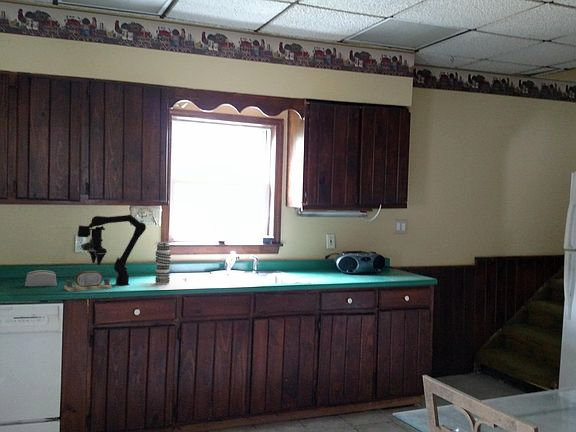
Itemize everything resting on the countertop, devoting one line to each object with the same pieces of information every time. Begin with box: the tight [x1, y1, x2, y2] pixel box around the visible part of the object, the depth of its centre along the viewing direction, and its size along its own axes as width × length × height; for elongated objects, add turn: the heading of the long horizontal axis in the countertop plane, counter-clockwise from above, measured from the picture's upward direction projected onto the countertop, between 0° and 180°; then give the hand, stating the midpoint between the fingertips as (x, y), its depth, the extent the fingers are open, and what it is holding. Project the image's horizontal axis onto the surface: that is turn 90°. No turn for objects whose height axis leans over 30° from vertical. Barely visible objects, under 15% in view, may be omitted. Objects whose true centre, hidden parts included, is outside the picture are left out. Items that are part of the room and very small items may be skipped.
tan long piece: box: [63, 277, 113, 292], centre depth 351 cm, size 24×9×5 cm, turn 125°
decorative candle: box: [154, 241, 172, 286], centre depth 377 cm, size 9×9×25 cm
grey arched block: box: [24, 269, 58, 287], centre depth 355 cm, size 17×5×10 cm, turn 116°
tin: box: [74, 270, 104, 287], centre depth 350 cm, size 15×3×8 cm, turn 125°
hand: (95, 264), depth 365 cm, fingers open, 9 cm apart
